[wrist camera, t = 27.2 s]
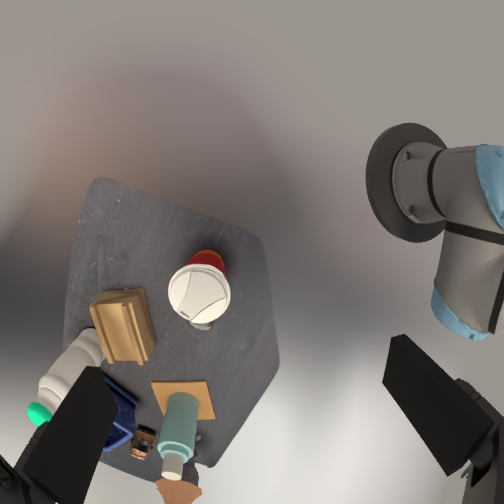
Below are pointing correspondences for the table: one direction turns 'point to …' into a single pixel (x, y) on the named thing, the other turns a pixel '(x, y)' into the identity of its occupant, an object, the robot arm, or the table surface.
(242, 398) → the table surface
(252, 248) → the table surface
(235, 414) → the table surface
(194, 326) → the metal grooved wheel
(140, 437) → the toy car
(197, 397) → the cork mat
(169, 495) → the model tower
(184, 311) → the paper cup
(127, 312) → the birch block
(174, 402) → the plastic bottle
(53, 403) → the water bottle
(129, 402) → the flower pot
